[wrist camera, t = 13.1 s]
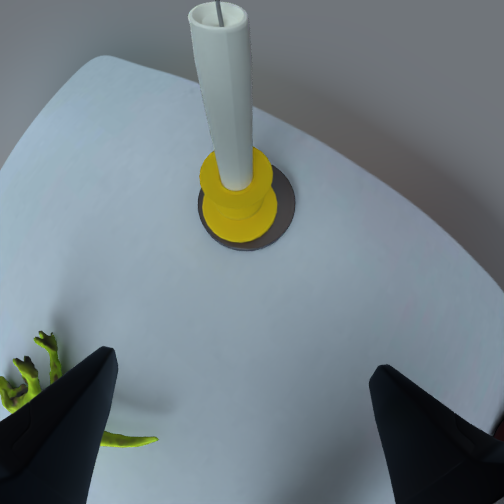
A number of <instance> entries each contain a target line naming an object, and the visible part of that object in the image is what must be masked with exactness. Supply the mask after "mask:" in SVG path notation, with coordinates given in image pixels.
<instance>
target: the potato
mask: <svg viewBox="0 0 504 504" xmlns="http://www.w3.org/2000/svg"><path fill="white" fill-rule="evenodd" d="M494 438H495V439H497V440H500V441H504V420H503V421H502V423H501V424H500V425H499V427H498V429H497V431H496V433H495V435H494Z"/></svg>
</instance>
